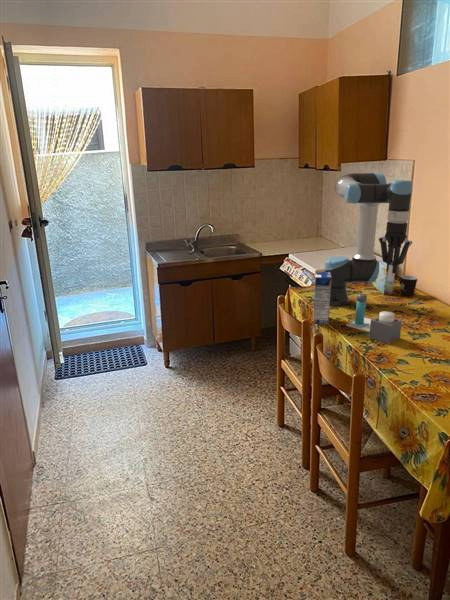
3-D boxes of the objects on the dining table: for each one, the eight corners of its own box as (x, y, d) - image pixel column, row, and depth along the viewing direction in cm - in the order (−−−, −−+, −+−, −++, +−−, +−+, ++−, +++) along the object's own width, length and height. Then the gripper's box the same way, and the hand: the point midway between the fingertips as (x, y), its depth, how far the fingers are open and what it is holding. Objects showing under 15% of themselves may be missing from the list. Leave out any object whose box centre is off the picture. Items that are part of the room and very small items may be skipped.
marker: (352, 323, 202) (355, 294, 198) (357, 320, 205) (360, 293, 201) (360, 325, 199) (363, 297, 195) (365, 323, 202) (368, 295, 198)
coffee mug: (416, 297, 240) (419, 279, 237) (399, 297, 242) (402, 279, 239) (412, 291, 251) (414, 274, 248) (396, 290, 253) (398, 273, 250)
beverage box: (312, 324, 204) (315, 277, 197) (313, 316, 214) (315, 271, 208) (328, 325, 203) (331, 278, 196) (327, 316, 213) (330, 271, 206)
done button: (375, 325, 186) (376, 313, 185) (382, 321, 190) (384, 310, 189) (389, 328, 182) (390, 317, 181) (396, 325, 186) (397, 313, 185)
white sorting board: (346, 325, 202) (346, 323, 202) (363, 318, 211) (363, 316, 211) (374, 334, 192) (375, 332, 192) (391, 326, 201) (391, 324, 201)
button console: (369, 337, 188) (370, 320, 186) (380, 332, 194) (381, 314, 192) (389, 344, 182) (391, 325, 180) (399, 338, 188) (402, 320, 185)
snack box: (393, 295, 246) (396, 268, 241) (383, 295, 246) (385, 268, 241) (381, 284, 266) (383, 259, 261) (371, 284, 266) (373, 259, 261)
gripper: (376, 220, 175) (371, 279, 183) (409, 224, 166) (401, 285, 174) (386, 218, 180) (380, 275, 188) (418, 222, 171) (410, 281, 179)
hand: (390, 280), depth 181 cm, fingers closed
